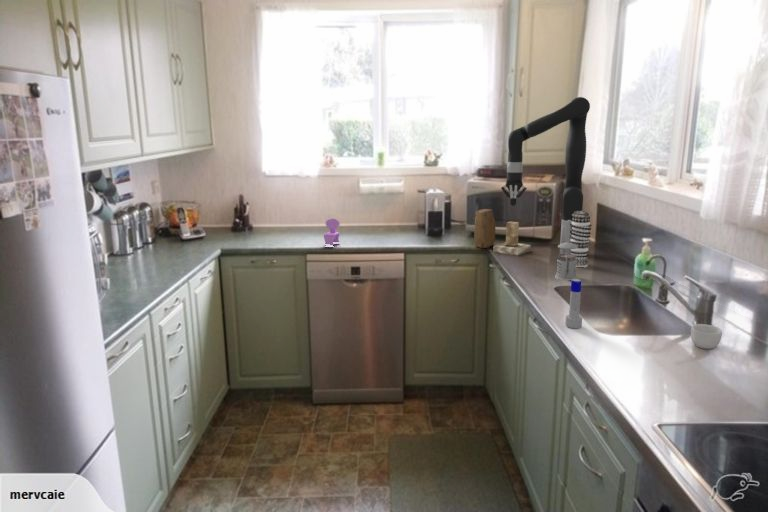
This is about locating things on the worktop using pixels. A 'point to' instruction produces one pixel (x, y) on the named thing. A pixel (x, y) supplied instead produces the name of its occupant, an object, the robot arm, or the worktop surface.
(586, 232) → the decorative candle
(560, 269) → the french press
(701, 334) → the teacup
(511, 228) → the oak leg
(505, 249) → the birch board
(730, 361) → the worktop surface
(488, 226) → the block
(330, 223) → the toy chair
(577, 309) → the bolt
